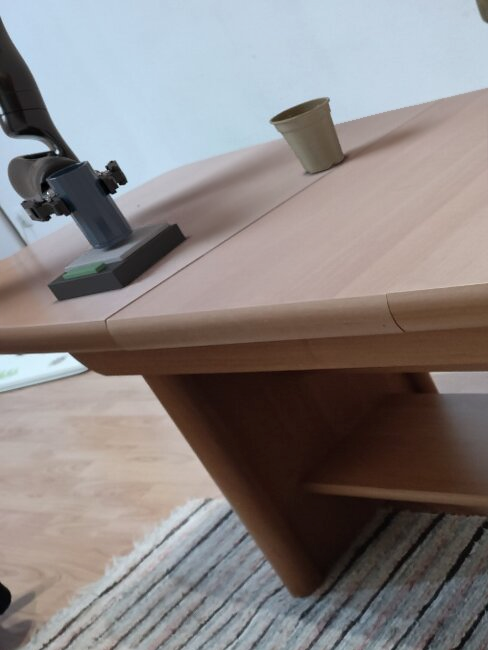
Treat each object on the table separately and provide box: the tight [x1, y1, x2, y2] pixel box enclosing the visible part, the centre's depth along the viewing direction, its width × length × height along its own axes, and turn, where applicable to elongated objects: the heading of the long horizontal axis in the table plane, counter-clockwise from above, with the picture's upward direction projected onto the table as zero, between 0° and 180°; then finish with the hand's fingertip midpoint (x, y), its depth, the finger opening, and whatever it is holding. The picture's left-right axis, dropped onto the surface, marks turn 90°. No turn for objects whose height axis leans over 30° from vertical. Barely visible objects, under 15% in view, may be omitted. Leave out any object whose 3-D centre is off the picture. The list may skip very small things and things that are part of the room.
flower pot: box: [268, 96, 345, 174], centre depth 131 cm, size 9×9×9 cm
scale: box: [46, 221, 187, 301], centre depth 119 cm, size 12×14×3 cm
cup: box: [46, 160, 134, 249], centre depth 116 cm, size 6×6×10 cm
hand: (87, 196), depth 113 cm, fingers closed on cup, 5 cm apart
